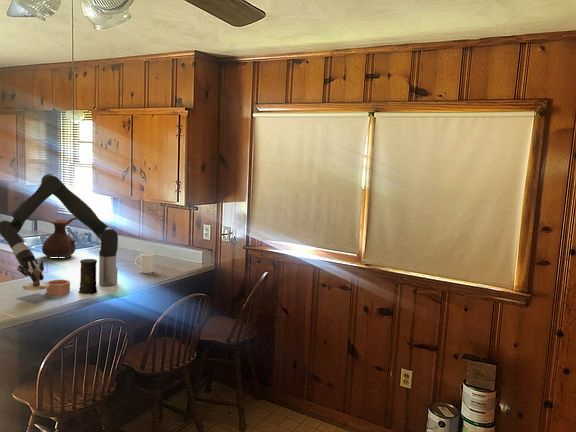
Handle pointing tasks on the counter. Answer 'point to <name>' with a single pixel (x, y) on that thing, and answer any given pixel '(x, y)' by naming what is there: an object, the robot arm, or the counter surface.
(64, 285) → the bowl
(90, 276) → the container
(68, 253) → the brown vase
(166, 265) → the counter surface
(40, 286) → the lid
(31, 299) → the mat
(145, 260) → the mug
